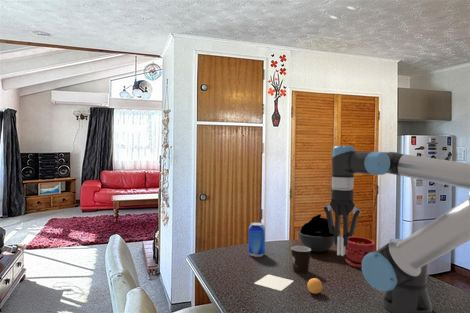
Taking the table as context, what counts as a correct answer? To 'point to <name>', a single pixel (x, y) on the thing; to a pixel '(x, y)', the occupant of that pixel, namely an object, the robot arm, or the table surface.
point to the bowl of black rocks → (317, 234)
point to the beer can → (256, 239)
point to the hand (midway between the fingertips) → (341, 254)
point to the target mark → (274, 282)
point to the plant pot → (358, 250)
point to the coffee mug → (300, 259)
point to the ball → (314, 285)
